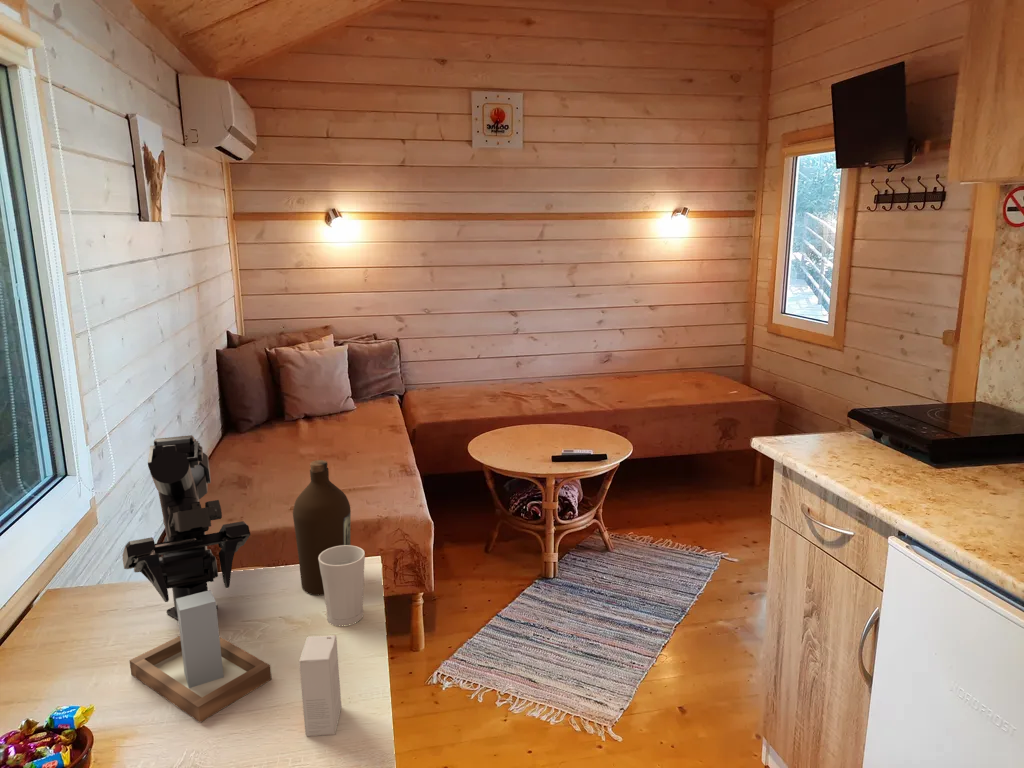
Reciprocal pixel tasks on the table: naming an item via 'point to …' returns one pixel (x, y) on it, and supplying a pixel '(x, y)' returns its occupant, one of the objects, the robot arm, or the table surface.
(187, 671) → the tall grey pillar block
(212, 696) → the wooden frame
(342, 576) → the cup
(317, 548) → the olive oil
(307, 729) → the skincare box
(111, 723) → the table surface
